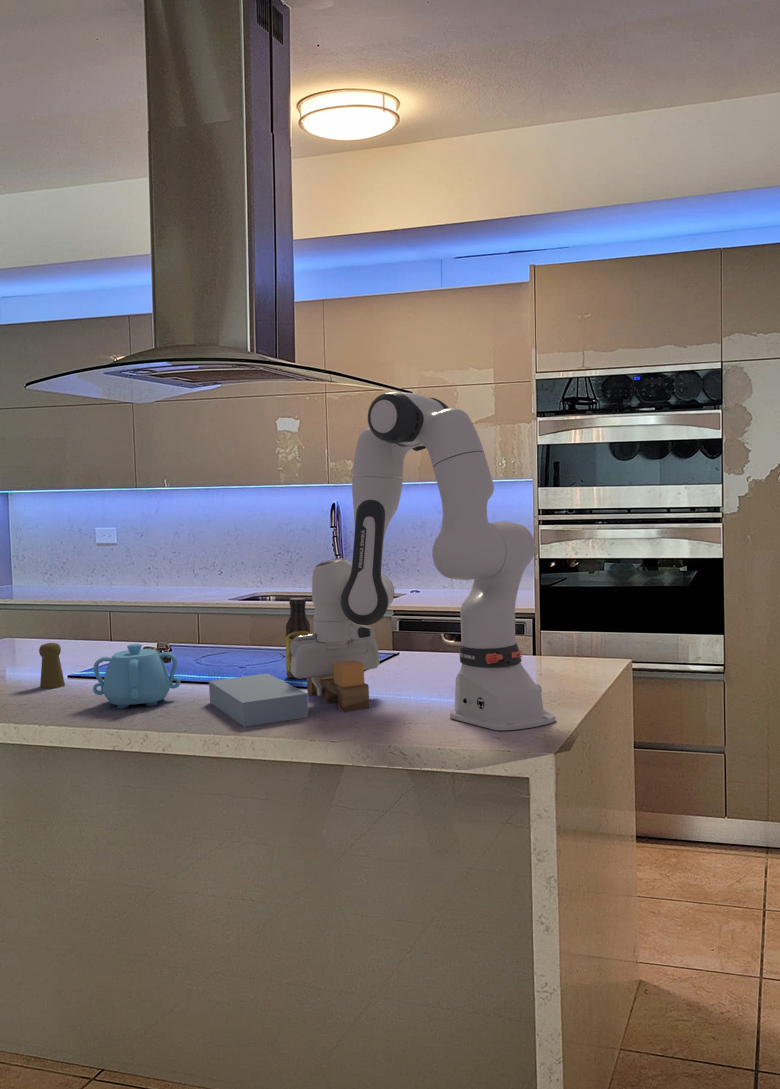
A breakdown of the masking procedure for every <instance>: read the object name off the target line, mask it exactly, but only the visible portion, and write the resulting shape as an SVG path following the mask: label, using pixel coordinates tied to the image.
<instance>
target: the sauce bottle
mask: <svg viewBox="0 0 780 1089" xmlns="http://www.w3.org/2000/svg"><path fill="white" fill-rule="evenodd" d="M306 601H307V600H306V598H305V597H291V598H289V602H288V604H289V607H290V611H289V612H290V613H289V615H290V616H289V618H288V620H287V622H286V624H285V632H286V633H285V666H286V667H285V668H286V670H285V671H286V677H287V678H288V679H298V678H296V677H294V676H293V675H292V673H291V658H292V654H291V652H290V643H291V641H292V640H293V639H295V638H296V637H297V636H305V635H311V626H310V625H311V624H310V621H309V620H308V618H307V617H306V615H307V614H306ZM295 641H296V640H295Z"/></svg>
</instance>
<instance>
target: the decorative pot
mask: <svg viewBox="0 0 780 1089" xmlns="http://www.w3.org/2000/svg"><path fill="white" fill-rule="evenodd" d="M163 657H168V658H170V659H171V660H172V663H171V664H172V665H171V670H170V673H169V671H168V669H167V666H166V664H165V662H164V660H163V659H162V658H163ZM104 662H108V665H107V667H106V670H105V673H104V678H102V676H101V674H100V670H99V665H100V664H101V663H104ZM177 667H178V660H177V657H176V656H175V655H174V654H173V653H171V652H168V651H163V652H158V651H157V650H156V649H153V648H145V649H142V644H141V643H132V644H128V645H127V650H122V651H118V652H115V653H113V654H112V656H103V657H100V658H98V659H97V660H95V662H94V664H93V672H94V676H95V678H96V680H97V681H98V682H97V683H95V684H94V685H93V686H92V691H93V693H94V694H95V695H98V696H103V695H104V697H105V698H106V699H107V701H108V702H109V703H110V704H111V705H116V706H117V709H125V708H129V707H130V705H139V704H140V705H141V704H145V706H149V707H150V706H151V707H152V706H153V707H154V706H156V705H158V701H161V700H163V699H165V698H166V697H167V695H168V694H169V691H170V689H177V688H179V687H180V685H181V679H180V678H179V677H177V676H175V673H176V672H177V671H176V670H177ZM173 681H175V682H176V683H173ZM98 687H100V690H98V689H97V688H98Z"/></svg>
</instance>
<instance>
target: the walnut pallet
mask: <svg viewBox="0 0 780 1089" xmlns="http://www.w3.org/2000/svg"><path fill="white" fill-rule="evenodd" d="M318 682H319V684H320V685H321V686H323V687H325V688H326V691H325V692H326V695H323V696H321V697H322V698H321V700H322V702H324V703H326V704H332V703H337V707H338V710H339V711H342V712H344V713H345V712H350V711H351V712H352V711H357V710H358V711H359V710H362V709H369V708H370V690H369V688H370V687H369V684H368V683H366V682H364V684H363V685H356V686H349V687H341V686H339V685H337V684H334V674H331V675H324V676H320V681H318ZM306 689H307V690H306V691H307V692H306V693H307V695H310V696H318V695H317V687H316V686H315V685H314V683H313V682H312V680H311V677H309V678H306Z"/></svg>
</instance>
